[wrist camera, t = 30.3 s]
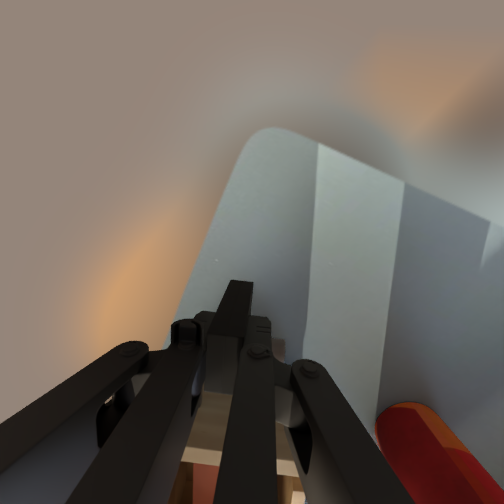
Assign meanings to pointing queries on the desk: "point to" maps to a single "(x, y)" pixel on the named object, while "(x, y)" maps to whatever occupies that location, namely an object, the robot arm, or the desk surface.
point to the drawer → (212, 439)
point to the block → (204, 483)
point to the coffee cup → (432, 458)
